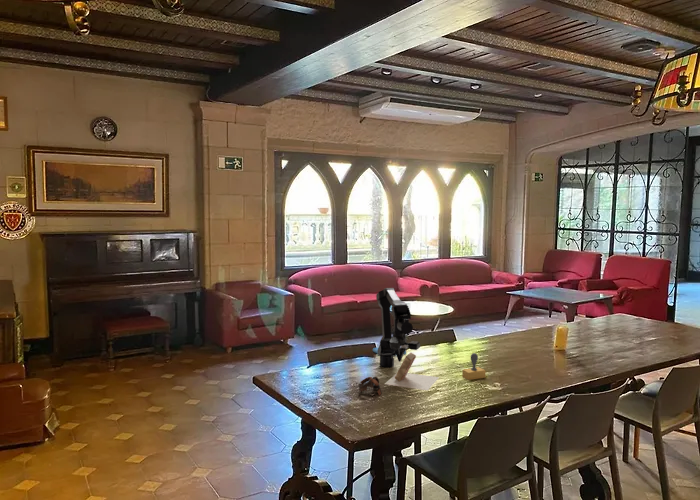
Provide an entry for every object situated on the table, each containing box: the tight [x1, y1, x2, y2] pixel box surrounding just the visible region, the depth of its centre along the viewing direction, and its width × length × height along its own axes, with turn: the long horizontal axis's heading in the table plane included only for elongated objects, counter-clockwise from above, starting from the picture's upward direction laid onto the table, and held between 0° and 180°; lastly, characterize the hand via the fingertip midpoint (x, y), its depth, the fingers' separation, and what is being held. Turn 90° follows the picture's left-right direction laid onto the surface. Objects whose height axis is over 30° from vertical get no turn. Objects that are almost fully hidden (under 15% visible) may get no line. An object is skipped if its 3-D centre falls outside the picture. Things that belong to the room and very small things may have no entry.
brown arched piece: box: [358, 376, 383, 396], centre depth 237 cm, size 12×10×8 cm
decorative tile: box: [372, 346, 407, 355], centre depth 302 cm, size 14×14×2 cm
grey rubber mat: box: [384, 372, 440, 391], centre depth 252 cm, size 21×20×1 cm
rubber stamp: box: [461, 352, 487, 381], centre depth 258 cm, size 10×6×12 cm, turn 113°
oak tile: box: [395, 352, 417, 381], centre depth 252 cm, size 3×8×12 cm, turn 156°
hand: (399, 361), depth 253 cm, fingers closed
